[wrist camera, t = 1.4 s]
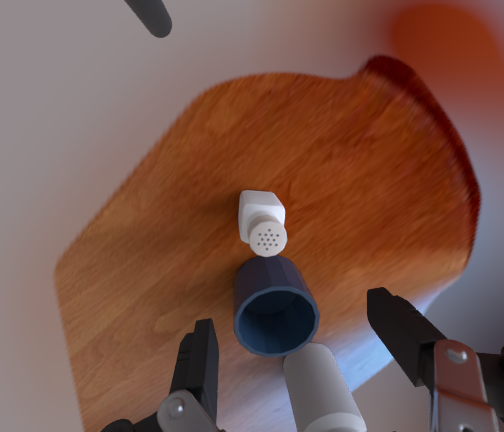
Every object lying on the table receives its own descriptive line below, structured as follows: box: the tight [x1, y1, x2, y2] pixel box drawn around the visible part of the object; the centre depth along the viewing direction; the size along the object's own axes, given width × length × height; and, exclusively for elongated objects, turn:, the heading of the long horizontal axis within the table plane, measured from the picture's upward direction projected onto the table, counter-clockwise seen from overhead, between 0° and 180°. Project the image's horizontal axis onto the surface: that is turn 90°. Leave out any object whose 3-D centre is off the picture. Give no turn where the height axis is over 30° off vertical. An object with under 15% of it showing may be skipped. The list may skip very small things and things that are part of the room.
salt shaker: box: [238, 190, 287, 257], centre depth 26 cm, size 4×4×10 cm
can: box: [283, 343, 366, 432], centre depth 33 cm, size 8×8×12 cm
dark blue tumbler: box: [233, 255, 320, 357], centre depth 30 cm, size 9×9×7 cm
